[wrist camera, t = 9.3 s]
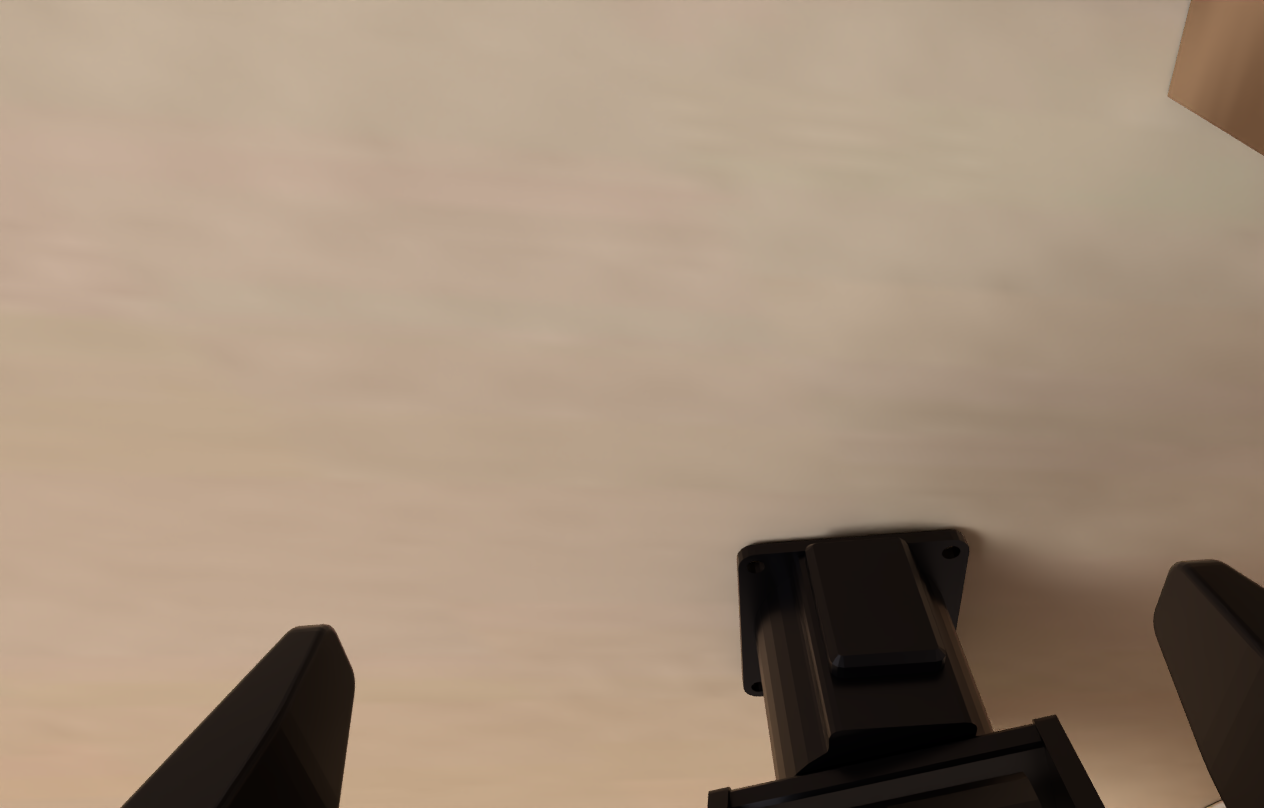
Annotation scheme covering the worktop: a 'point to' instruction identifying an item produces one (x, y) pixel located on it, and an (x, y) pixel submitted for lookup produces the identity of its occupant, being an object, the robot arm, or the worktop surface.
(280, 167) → the worktop surface
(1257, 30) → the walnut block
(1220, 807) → the lidded bowl
